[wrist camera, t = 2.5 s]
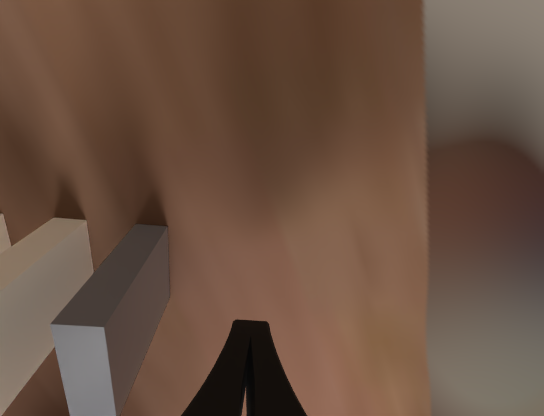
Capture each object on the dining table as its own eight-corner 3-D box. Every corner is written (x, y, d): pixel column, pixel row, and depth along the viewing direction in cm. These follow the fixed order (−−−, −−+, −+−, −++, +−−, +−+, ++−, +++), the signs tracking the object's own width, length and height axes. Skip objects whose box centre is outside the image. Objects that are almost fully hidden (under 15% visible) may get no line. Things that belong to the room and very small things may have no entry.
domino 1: (86, 220, 16) (-34, 319, 10) (96, 291, 18) (0, 417, 11) (53, 217, 16) (-91, 315, 10) (66, 290, 18) (-48, 415, 11)
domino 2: (167, 226, 16) (104, 327, 10) (170, 296, 18) (117, 422, 12) (135, 223, 16) (50, 324, 10) (141, 294, 18) (71, 420, 11)
